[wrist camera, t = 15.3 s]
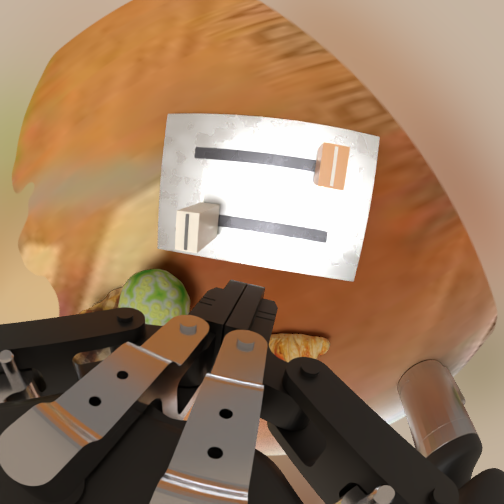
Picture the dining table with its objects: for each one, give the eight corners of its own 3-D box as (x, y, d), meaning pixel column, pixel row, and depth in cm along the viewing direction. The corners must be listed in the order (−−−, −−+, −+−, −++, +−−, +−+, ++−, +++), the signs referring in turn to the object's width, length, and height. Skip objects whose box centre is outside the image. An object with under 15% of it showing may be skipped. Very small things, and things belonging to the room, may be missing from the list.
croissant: (319, 309, 40) (311, 311, 33) (343, 367, 37) (340, 383, 30) (205, 353, 46) (179, 361, 38) (226, 404, 43) (203, 420, 35)
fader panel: (375, 138, 29) (380, 136, 27) (351, 276, 34) (353, 282, 32) (173, 116, 32) (167, 113, 30) (163, 244, 38) (156, 248, 36)
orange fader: (338, 152, 28) (350, 146, 21) (333, 186, 29) (344, 190, 23) (317, 148, 29) (323, 141, 22) (313, 183, 30) (317, 186, 23)
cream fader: (219, 204, 32) (198, 213, 25) (216, 236, 33) (196, 253, 27) (200, 202, 33) (176, 210, 26) (198, 234, 34) (174, 249, 27)
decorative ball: (171, 246, 37) (133, 270, 28) (213, 302, 39) (188, 340, 29) (130, 279, 40) (92, 307, 31) (169, 329, 42) (139, 365, 32)
